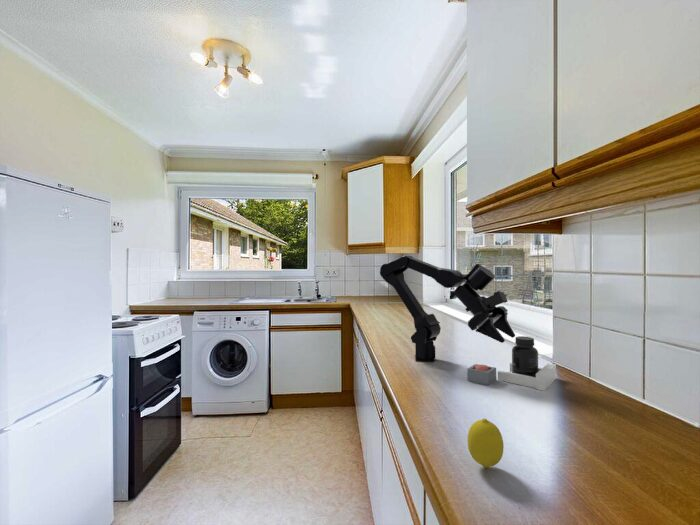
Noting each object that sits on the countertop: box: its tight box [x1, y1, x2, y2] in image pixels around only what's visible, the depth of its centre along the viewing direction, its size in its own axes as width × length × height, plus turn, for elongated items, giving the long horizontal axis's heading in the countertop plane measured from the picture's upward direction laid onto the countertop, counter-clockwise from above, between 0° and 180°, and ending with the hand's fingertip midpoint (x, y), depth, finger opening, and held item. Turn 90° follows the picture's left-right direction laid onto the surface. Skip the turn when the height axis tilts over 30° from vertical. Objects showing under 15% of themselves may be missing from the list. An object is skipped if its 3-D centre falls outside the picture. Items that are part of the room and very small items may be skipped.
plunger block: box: [466, 363, 497, 386], centre depth 98 cm, size 6×6×4 cm
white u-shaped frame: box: [497, 362, 557, 391], centre depth 99 cm, size 12×13×4 cm
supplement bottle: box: [511, 335, 539, 377], centre depth 99 cm, size 7×7×12 cm
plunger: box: [474, 363, 488, 371], centre depth 98 cm, size 4×4×4 cm
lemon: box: [467, 418, 504, 469], centre depth 56 cm, size 6×6×8 cm
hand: (509, 339), depth 102 cm, fingers open, 9 cm apart
